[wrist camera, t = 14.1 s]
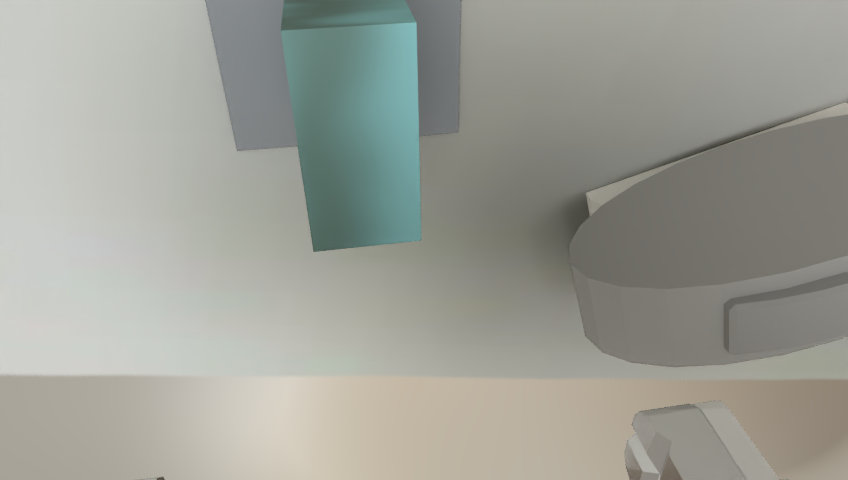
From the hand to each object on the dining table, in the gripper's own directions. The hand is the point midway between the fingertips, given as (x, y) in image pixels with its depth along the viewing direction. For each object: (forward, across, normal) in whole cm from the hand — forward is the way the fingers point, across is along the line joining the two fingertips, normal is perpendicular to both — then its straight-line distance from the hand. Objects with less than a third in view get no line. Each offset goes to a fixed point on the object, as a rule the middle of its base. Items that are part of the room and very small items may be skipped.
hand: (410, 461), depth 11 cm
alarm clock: (+25, +23, -10) cm, 35 cm away
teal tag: (+24, 0, 0) cm, 24 cm away
